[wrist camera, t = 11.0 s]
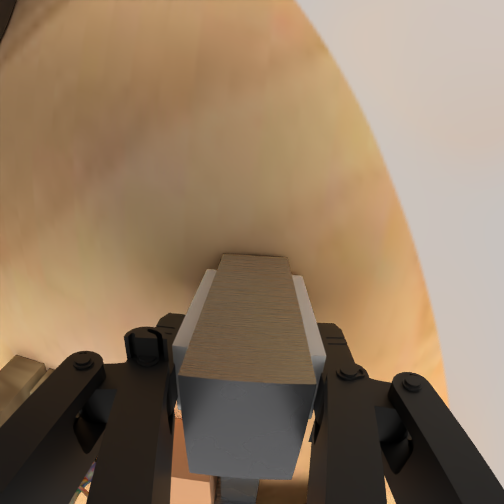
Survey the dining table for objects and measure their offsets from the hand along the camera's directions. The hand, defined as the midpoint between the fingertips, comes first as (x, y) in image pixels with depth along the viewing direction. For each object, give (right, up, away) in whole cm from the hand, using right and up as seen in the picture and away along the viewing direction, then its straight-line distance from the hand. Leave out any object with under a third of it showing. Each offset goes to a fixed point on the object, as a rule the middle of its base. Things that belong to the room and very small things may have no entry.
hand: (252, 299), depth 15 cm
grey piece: (-3, -7, +3) cm, 8 cm away
